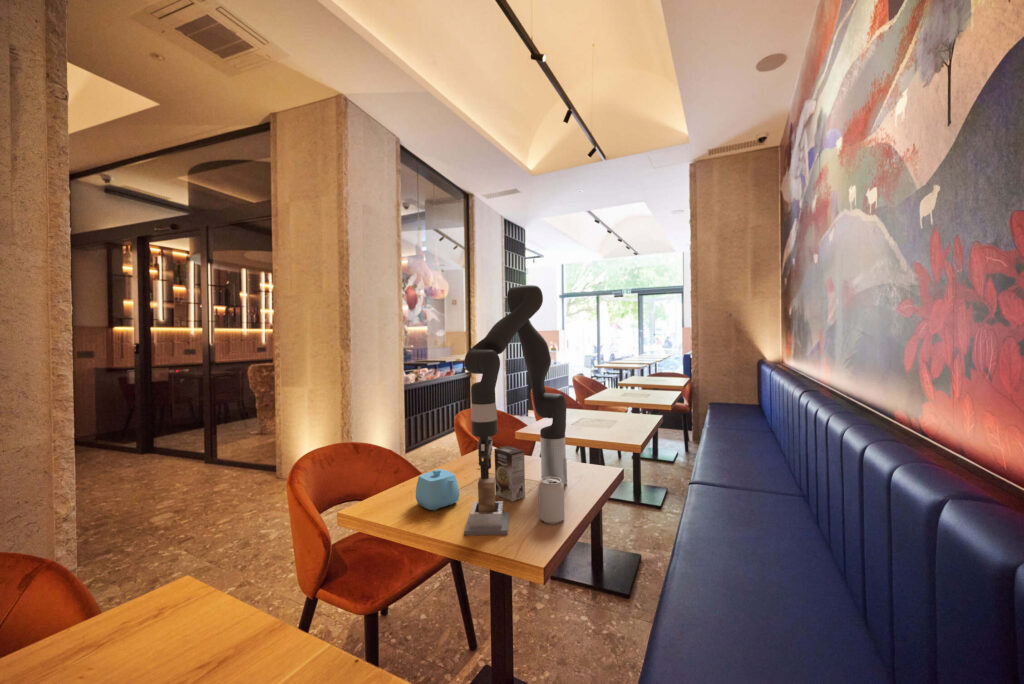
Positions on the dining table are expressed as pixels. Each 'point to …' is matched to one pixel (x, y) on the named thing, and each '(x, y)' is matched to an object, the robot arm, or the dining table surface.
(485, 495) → the long tan beam
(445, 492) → the teapot
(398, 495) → the dining table surface
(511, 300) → the robot arm
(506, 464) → the coffee box
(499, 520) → the dock
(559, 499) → the can
